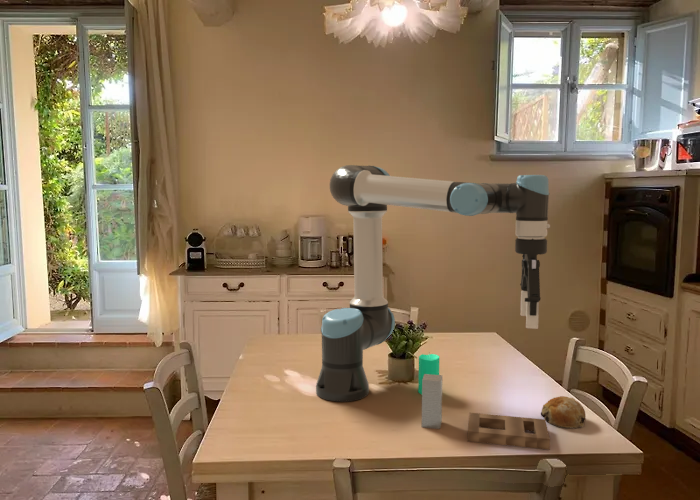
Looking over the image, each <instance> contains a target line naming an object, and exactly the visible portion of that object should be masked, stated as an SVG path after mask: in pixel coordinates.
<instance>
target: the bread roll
mask: <svg viewBox="0 0 700 500" xmlns="http://www.w3.org/2000/svg"><path fill="white" fill-rule="evenodd" d="M541 409H542V410H541V412H540V417H542V418H543V419H545V421H546V423H549V425H553V426H555V427H558V428H565V429H577V428H583V427H585V421H586V417H587V416H586V411H585V410H586V409H585V408H584V406H583V405H582V404H581V403H580V402H579V401H577V400H576V399H575V398H573V397H568V396H563V395H562V396H556V397H553V398H551V399H548V401H547V402H546V403H544V404H543V405H542V408H541Z"/></svg>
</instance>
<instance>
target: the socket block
mask: <svg viewBox="0 0 700 500" xmlns="http://www.w3.org/2000/svg"><path fill="white" fill-rule="evenodd" d="M528 432H533V433H528ZM467 442H471V443H479V444H480V443H481V444H488V445H489V444H491V445H499V446H502V445H503V446H509V447H520V448H528V449H529V448H530V449H539V450H540V449H541V450H547V451H550V448H551V445H550V444H551V438H550V433H549V429H548V426H547V422H546V421H545V419H544V418H533V417H532V418H531V417H522V416H521V417H520V416H513V415H512V416H511V415H501V414H500V415H499V414H489V413H480V412H469V413H468V427H467Z"/></svg>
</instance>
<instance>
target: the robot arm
mask: <svg viewBox="0 0 700 500" xmlns="http://www.w3.org/2000/svg"><path fill="white" fill-rule="evenodd" d="M516 177H517V178H516V181H515V182H512V183H501V182H500V183H499V182H498V183H492V182H491V183H489V182H488V183H487V182H481V183H479V182H478V183H477V182H466V181H465V182H463V181H453V180H443V179H442V180H441V179H440V180H439V179H429V178H418V177H417V178H416V177H408V176H407V177H404V176H394V175H390V173H388V172H387V170H385V169H384V168H382V167H380V166H379V167H378V166H375V165H357V164H356V165H355V164H349V165H342V166H341V167H339V168H337V169H336V170H335V171H334V172H333V173H332V175H331V178H330V179H329V180H330V181H329V192H330V193H331V196H332V198H333V199H334V200H335V202H337V203H338V204H340V205H342V206H345V207H347V212H348V213H349V215H351V216H352V218H353V219H352V220H353V223H352V224H353V229H352V230H353V276H354V277H353V279H354V280H353V281H354V282H353V283H354V284H353V285H354V289H353V290H354V291H353V292H354V296H353V298H351V300H350V301H349V307H341V308H335V309H333V310H330V311H328V312H326V313H325V314H324V315H323V317H322V319H321V320H322V321H321V328H320V332H321V369H320V372H319V375H318V378H317V381H316V384H315V385H316V386H315V387H316V388H315V394H316V396H317V397H319V398H321V399H324V400H327V401H331V402H341V403H342V402H354V401H358V400H361V399H364V398H365V397H367V396H368V395H369V392H370V384H369V382H368V378H367V375H366V371H365V369H364V365H363V364H364V350H365V351H366V350H367V349H369V348H373V347H375V346H379V345H380V344H382V343H384V342H385V341H387V340H388V339H389V338H390V337H391V336H392V335H391V334H393V333H392V332H394V331H393V330H395V328H396V327H395V326H396V319H395V316H394V313H393V312H392V311H391V309H390V307H389V301H388V299H386V298H385V297H384V292H383V291H384V290H383V288H384V285H383V284H384V283H383V282H384V281H383V279H384V278H383V272H384V270H383V268H384V267H383V264H384V263H383V217H384V215H385V214H387V212H388V206H394V207H395V206H396V207H403V208H412V209H413V208H414V209H420V210H430V211H439V212H447V213H454V214H458V215H461V216H467V217H468V216H469V217H472V216H473V217H474V216H476V215H485V214H515V231H514V232H515V234H514V235H515V236H516V237H517V238H515V246H514V249H515V250H514V251H515V253H516V254H520V255H522V259H521V277H520V284H519V285H520V290H521V291H520V316H521V317H526V318H525V319H526V320H525V328H526V329H533V330H536V329H537V330H538V329H539V313H540V312H539V308H540V305H539V304H540V302H541V298H542V297H541V290H540V289H541V284H540V283H541V282H540V268H541V267H540V266H541V262H540V260H539V259H538V255H545V254H547V253H548V240H547V238H546V237H547V236H548V229H550V228H551V224H550V223H549V222H548V220H549V219H548V217H549V199H550V197H549V196H550V192H549V191H550V189H549V183H550V182H549V177H548V176H547V175H545V174H524V175H523V174H519V175H518V176H516ZM390 335H391V336H390ZM389 336H390V337H389ZM388 337H389V338H388ZM387 338H388V339H387ZM386 339H387V340H386Z"/></svg>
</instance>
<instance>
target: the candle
mask: <svg viewBox="0 0 700 500" xmlns="http://www.w3.org/2000/svg"><path fill="white" fill-rule="evenodd" d="M424 374H431V375H440V356H439V355H438V354H435V353H428V354H424V353H422V354H420V355H419V356H418V376H417V377H418V381H417V383H418V384H417V385H418V387H417V389H418V390H417V391H418V392H417V393H418V394H420V395H421V396H422V379H423V376H424Z"/></svg>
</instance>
